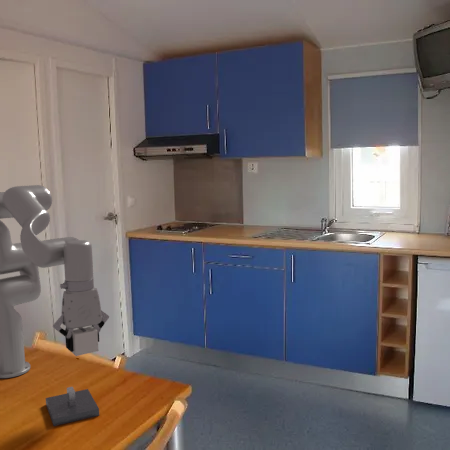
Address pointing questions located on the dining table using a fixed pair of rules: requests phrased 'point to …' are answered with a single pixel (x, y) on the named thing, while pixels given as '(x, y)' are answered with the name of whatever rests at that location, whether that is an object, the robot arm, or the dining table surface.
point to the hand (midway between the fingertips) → (83, 347)
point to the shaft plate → (71, 406)
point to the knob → (84, 340)
